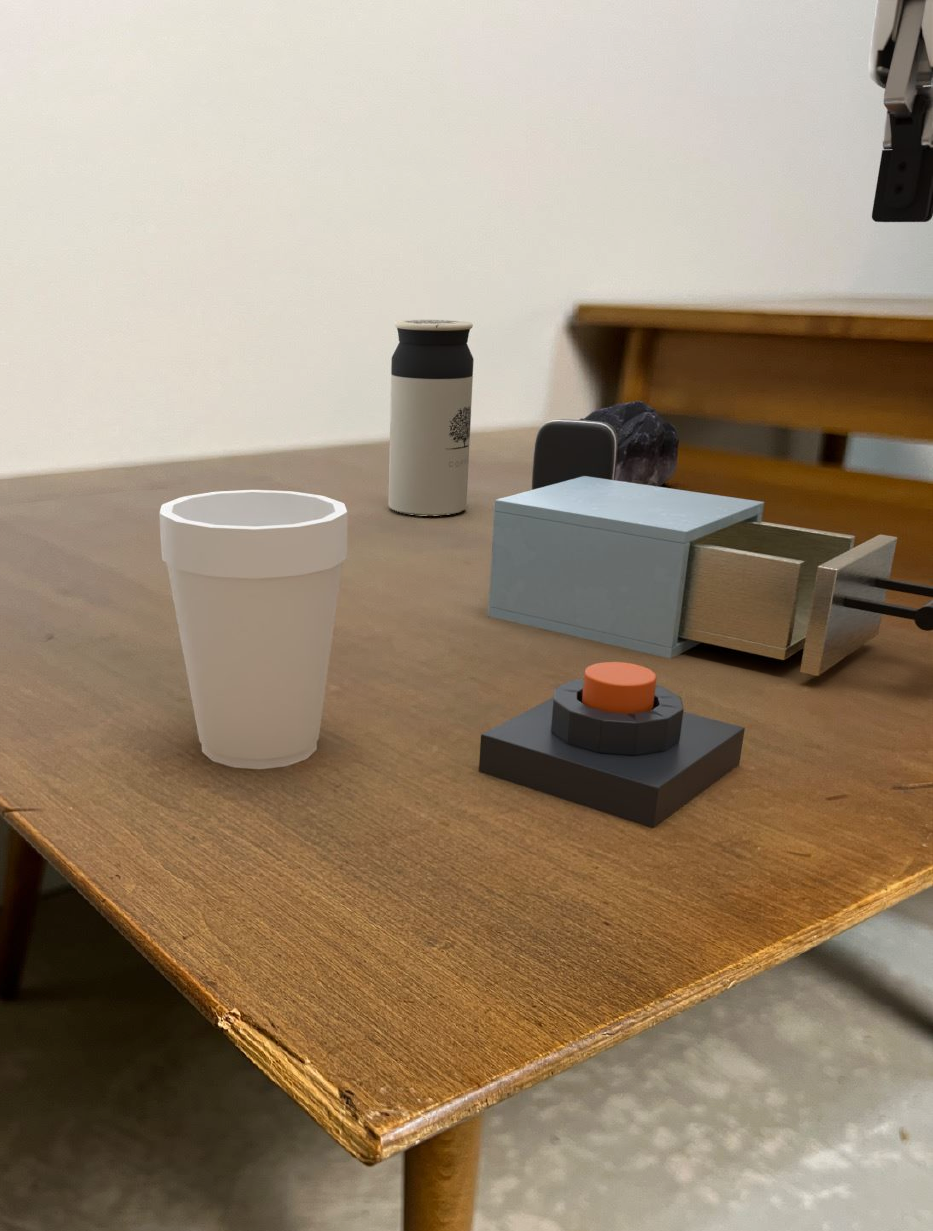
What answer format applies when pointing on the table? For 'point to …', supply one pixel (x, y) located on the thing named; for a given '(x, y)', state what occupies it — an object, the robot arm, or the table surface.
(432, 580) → the table surface
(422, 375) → the travel mug
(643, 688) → the button
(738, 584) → the metal drawer
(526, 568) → the light blue drawer box
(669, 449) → the crystal cluster
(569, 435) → the battery charger
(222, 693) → the foam cup
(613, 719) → the control block
